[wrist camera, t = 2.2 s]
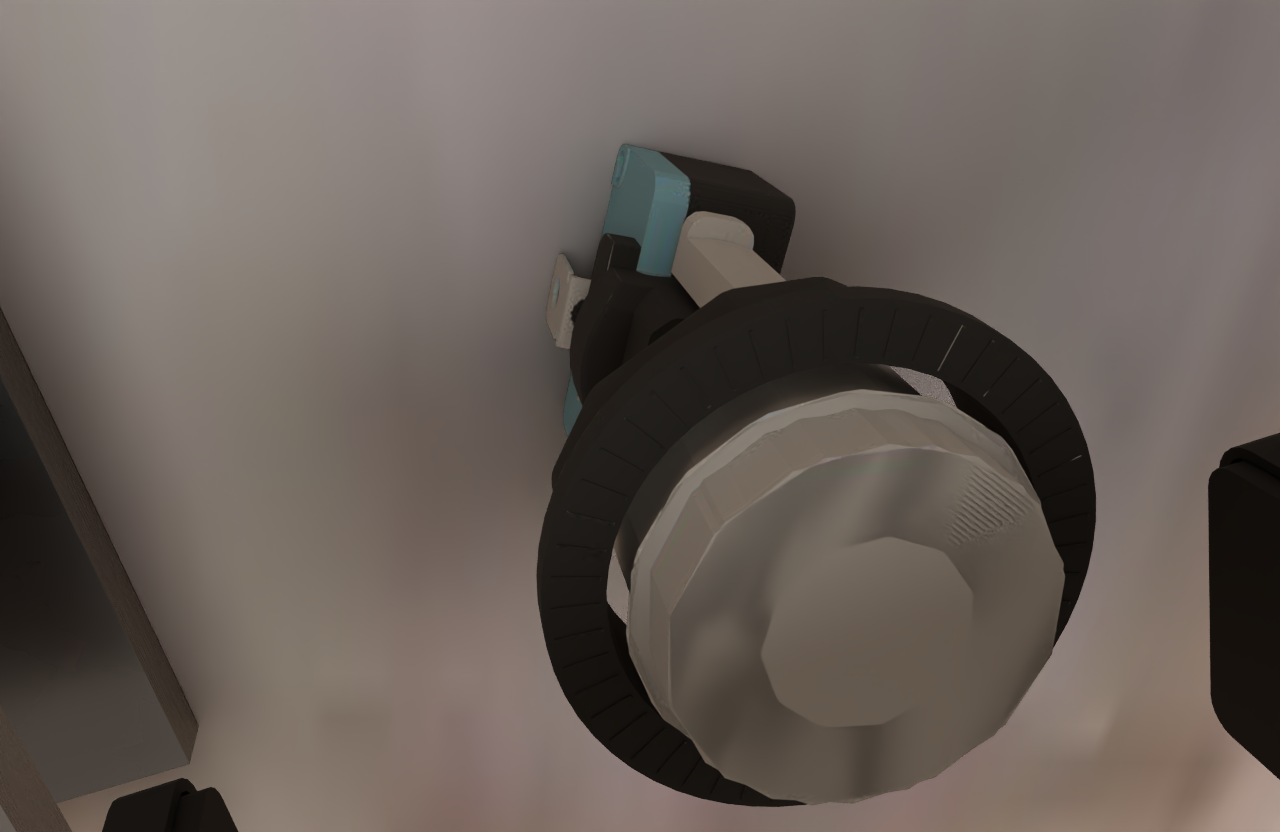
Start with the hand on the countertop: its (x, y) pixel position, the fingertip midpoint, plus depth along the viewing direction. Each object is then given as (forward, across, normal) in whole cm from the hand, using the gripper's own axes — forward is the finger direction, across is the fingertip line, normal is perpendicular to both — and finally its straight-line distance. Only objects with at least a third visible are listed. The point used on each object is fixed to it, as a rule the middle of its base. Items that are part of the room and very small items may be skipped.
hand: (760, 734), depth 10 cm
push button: (+10, -1, -1) cm, 10 cm away
